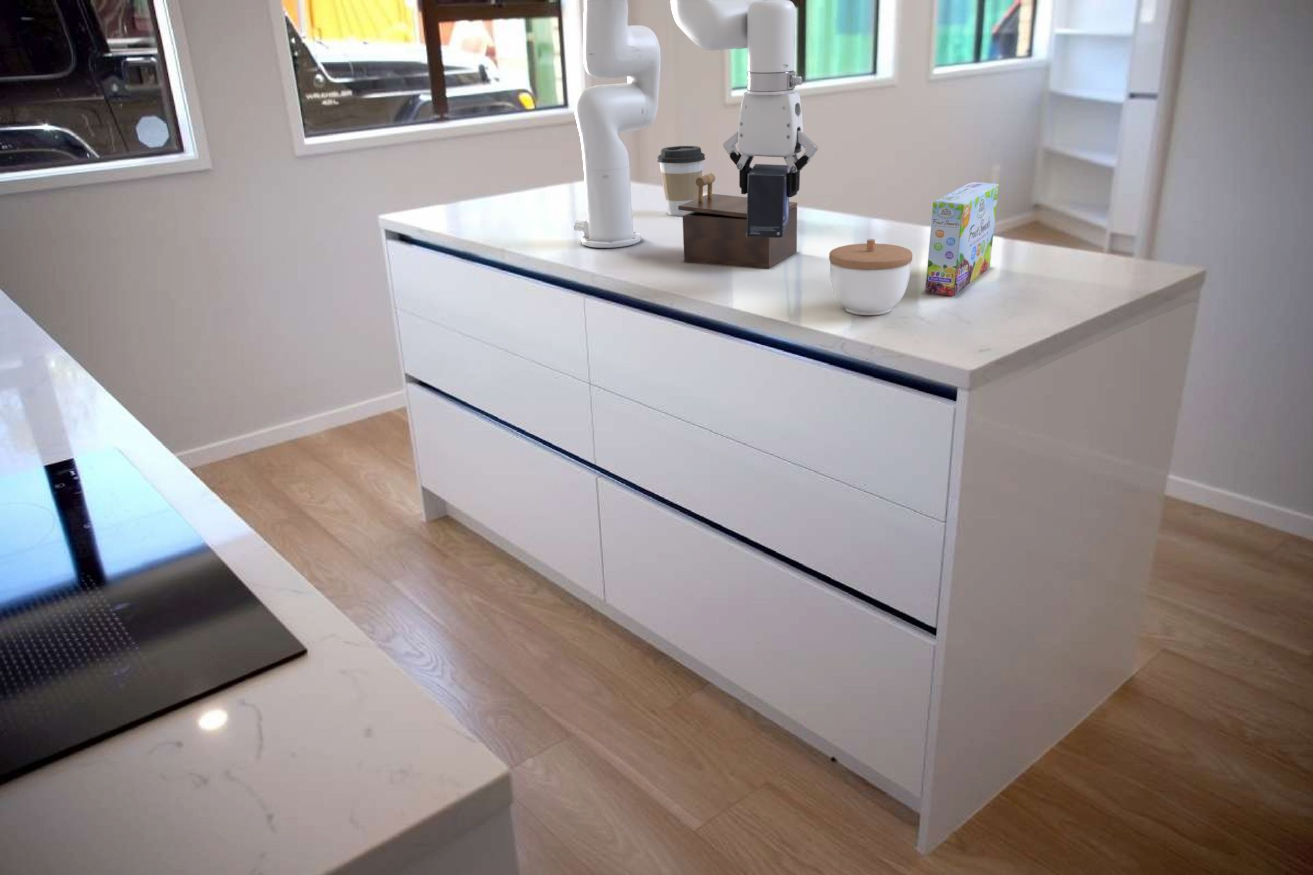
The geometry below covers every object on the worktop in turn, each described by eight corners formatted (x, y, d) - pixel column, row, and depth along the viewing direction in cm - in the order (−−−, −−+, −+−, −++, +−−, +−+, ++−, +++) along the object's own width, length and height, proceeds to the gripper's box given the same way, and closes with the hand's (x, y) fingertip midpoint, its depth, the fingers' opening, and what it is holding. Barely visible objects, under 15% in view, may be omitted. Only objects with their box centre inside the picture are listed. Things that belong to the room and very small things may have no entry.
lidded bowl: (820, 301, 163) (821, 234, 159) (895, 296, 164) (899, 229, 159) (838, 323, 152) (840, 251, 147) (919, 317, 152) (924, 246, 148)
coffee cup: (677, 207, 245) (674, 144, 240) (716, 210, 239) (714, 146, 233) (649, 215, 237) (646, 150, 231) (689, 219, 231) (687, 152, 225)
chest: (684, 261, 193) (682, 215, 189) (715, 246, 204) (714, 202, 200) (769, 269, 184) (769, 220, 181) (796, 252, 195) (797, 207, 192)
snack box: (957, 297, 161) (964, 203, 155) (923, 293, 164) (929, 201, 158) (992, 267, 178) (1000, 181, 172) (961, 265, 181) (967, 180, 175)
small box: (784, 239, 165) (786, 174, 160) (745, 238, 166) (745, 174, 162) (789, 224, 174) (791, 163, 170) (752, 224, 175) (753, 163, 171)
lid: (678, 210, 189) (678, 180, 187) (710, 197, 200) (710, 168, 198) (768, 220, 181) (770, 189, 179) (797, 206, 192) (798, 177, 190)
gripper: (830, 82, 159) (825, 193, 166) (731, 80, 167) (731, 187, 174) (813, 86, 153) (809, 202, 161) (711, 85, 161) (712, 195, 168)
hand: (769, 193), depth 167 cm, fingers closed on small box, 7 cm apart
